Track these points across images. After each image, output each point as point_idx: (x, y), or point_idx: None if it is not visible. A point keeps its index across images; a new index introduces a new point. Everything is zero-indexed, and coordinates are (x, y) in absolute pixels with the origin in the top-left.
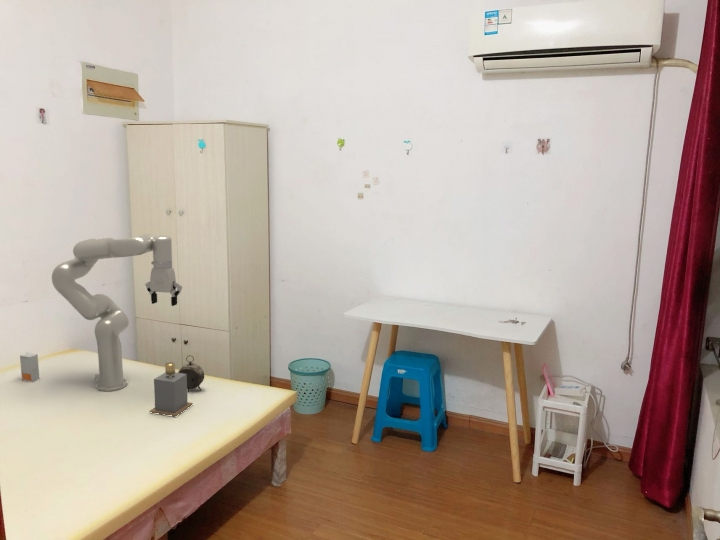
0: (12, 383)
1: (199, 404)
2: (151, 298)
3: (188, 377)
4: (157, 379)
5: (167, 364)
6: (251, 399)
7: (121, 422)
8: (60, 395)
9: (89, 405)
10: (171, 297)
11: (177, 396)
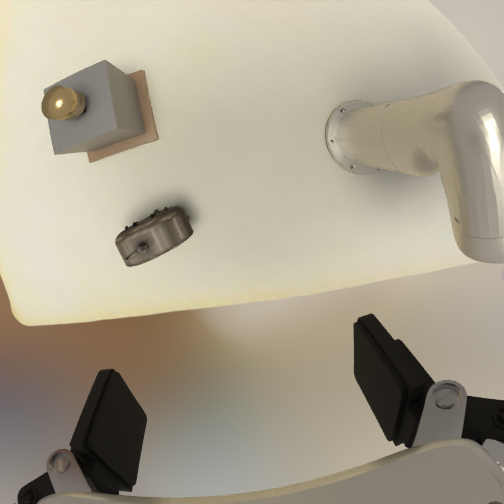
0: (494, 82)
1: (84, 175)
2: (399, 348)
3: (145, 221)
4: (93, 65)
5: (57, 91)
6: (32, 261)
7: (165, 12)
8: (402, 53)
9: (307, 31)
10: (83, 440)
11: None
